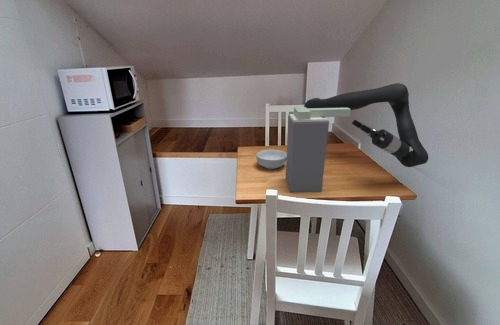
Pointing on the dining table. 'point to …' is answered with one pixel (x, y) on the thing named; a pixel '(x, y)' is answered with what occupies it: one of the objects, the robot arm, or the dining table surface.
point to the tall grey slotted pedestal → (306, 153)
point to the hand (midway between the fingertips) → (357, 124)
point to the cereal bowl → (271, 158)
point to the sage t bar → (320, 112)
